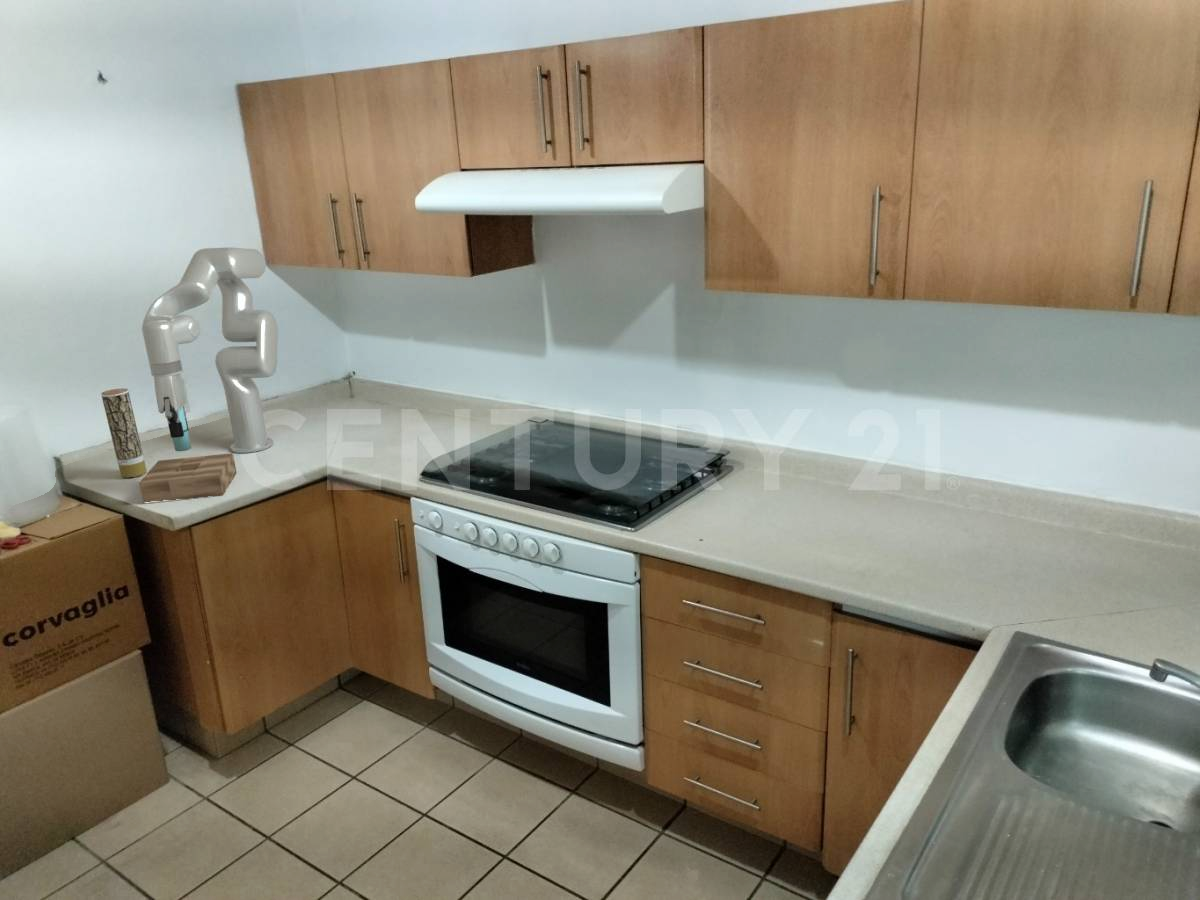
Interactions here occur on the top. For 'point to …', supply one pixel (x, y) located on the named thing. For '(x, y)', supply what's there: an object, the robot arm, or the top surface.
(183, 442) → the peg
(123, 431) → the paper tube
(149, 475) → the socket block
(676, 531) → the top surface
